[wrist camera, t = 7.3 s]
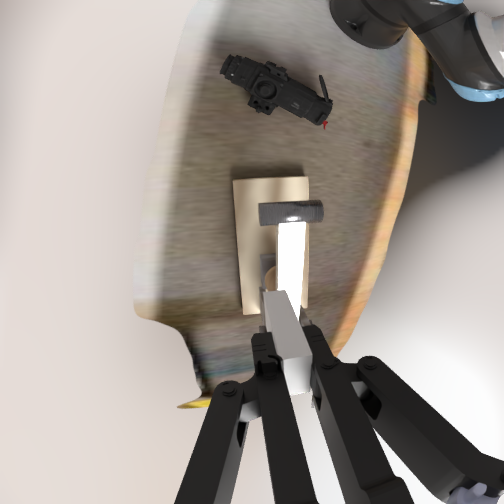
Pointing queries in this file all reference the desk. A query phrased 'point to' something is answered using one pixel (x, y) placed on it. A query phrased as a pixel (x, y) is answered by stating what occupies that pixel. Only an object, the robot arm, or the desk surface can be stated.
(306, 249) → the press base
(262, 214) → the lever
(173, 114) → the desk surface
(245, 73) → the night vision scope
